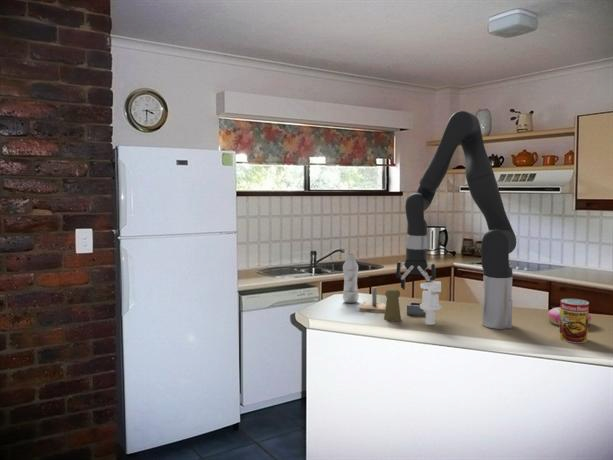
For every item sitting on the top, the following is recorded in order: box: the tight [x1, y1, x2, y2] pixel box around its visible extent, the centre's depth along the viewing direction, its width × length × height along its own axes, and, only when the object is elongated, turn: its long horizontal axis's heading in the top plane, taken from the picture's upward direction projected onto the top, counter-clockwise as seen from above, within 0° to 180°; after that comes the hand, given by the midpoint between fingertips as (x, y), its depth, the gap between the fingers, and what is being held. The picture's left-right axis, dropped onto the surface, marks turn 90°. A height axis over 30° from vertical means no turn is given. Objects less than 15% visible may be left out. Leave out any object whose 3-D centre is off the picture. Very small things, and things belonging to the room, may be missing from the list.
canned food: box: [558, 298, 590, 344], centre depth 165 cm, size 8×8×12 cm
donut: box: [547, 306, 592, 327], centre depth 183 cm, size 14×13×5 cm
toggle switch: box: [358, 287, 386, 314], centre depth 206 cm, size 10×10×8 cm
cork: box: [383, 287, 402, 322], centre depth 191 cm, size 6×6×11 cm
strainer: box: [419, 280, 442, 326], centre depth 184 cm, size 7×7×15 cm
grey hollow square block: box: [406, 301, 425, 317], centre depth 199 cm, size 6×6×4 cm
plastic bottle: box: [342, 253, 360, 304], centre depth 216 cm, size 6×7×20 cm
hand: (415, 290), depth 198 cm, fingers open, 8 cm apart
